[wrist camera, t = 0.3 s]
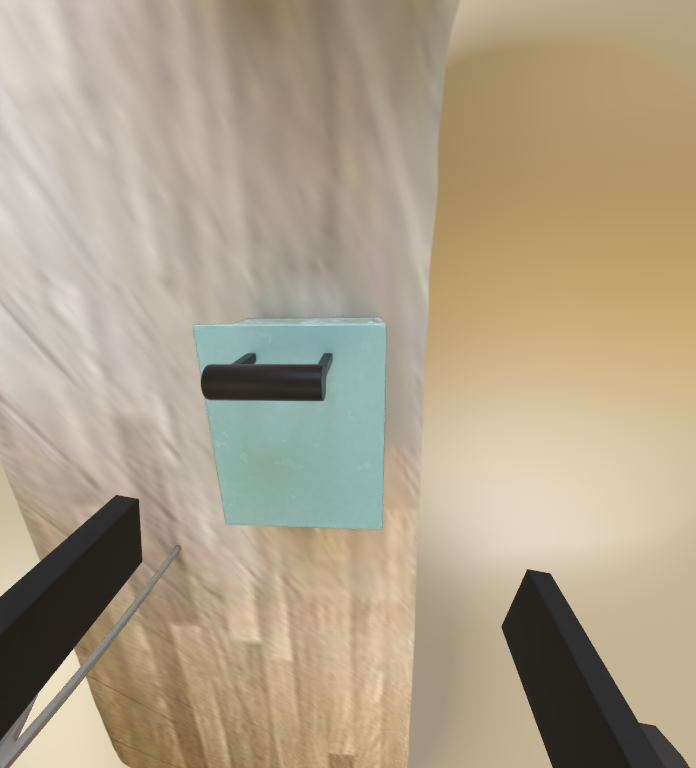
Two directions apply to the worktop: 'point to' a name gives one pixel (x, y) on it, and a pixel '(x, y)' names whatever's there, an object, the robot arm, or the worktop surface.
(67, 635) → the robot arm
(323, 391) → the cabinet door
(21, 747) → the citrus juicer
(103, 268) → the worktop surface
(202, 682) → the worktop surface
